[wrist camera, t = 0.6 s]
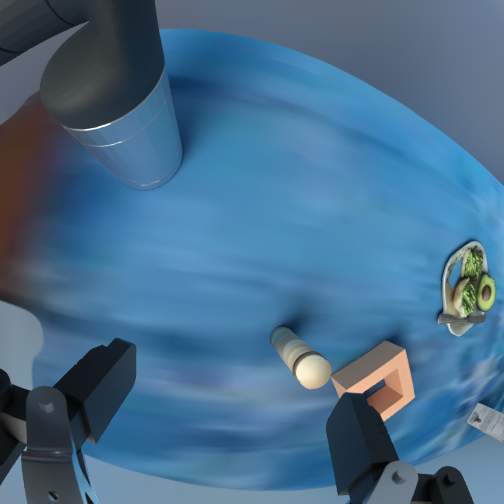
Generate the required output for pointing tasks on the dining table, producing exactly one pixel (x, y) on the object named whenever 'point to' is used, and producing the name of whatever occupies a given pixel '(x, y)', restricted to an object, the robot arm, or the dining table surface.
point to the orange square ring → (379, 378)
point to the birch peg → (301, 358)
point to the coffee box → (488, 421)
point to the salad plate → (467, 290)
